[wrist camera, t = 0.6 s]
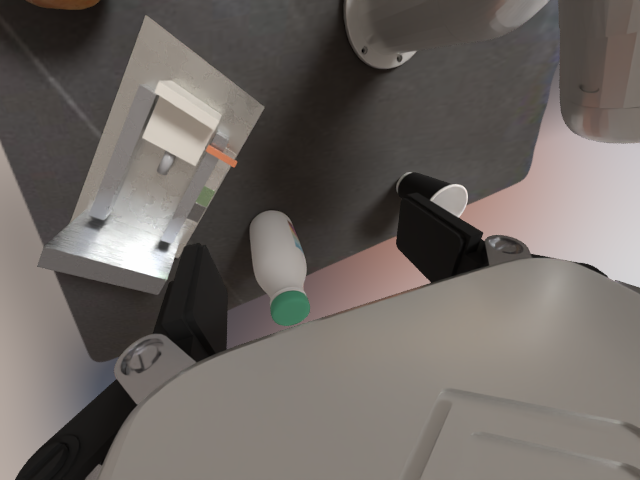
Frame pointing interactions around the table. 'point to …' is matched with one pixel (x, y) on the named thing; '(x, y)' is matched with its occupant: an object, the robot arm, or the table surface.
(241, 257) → the table surface
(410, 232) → the robot arm
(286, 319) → the milk bottle
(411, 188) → the dixie cup
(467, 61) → the table surface
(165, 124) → the white stepped block
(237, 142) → the bench
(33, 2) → the potato
